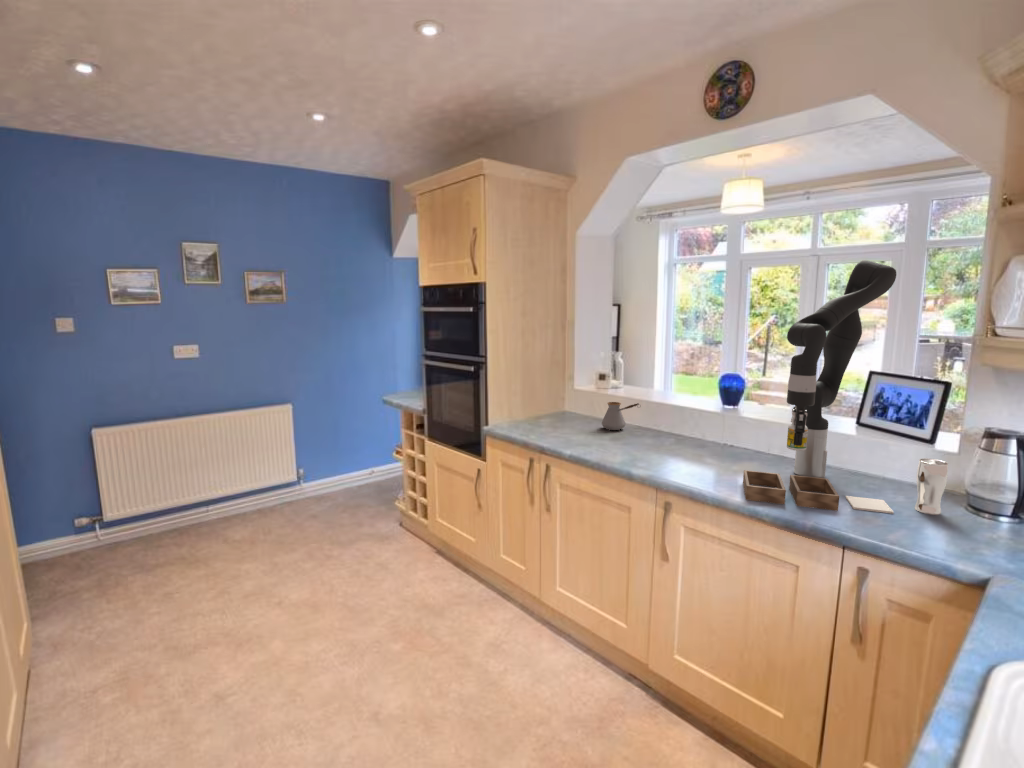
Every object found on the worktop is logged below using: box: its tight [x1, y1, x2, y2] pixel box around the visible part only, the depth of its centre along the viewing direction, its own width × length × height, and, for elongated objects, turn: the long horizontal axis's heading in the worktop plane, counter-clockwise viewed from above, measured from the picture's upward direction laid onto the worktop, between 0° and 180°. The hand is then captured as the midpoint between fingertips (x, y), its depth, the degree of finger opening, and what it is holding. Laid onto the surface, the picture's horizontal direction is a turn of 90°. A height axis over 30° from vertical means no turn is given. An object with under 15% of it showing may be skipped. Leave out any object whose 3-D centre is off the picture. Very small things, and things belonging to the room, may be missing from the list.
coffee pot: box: [601, 401, 641, 431], centre depth 251 cm, size 21×12×15 cm, turn 36°
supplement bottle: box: [786, 417, 808, 452], centre depth 164 cm, size 5×5×10 cm
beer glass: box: [914, 457, 949, 516], centre depth 154 cm, size 7×7×15 cm
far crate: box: [742, 469, 787, 505], centre depth 169 cm, size 11×17×4 cm, turn 159°
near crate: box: [788, 474, 840, 512], centre depth 164 cm, size 11×17×4 cm, turn 159°
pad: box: [845, 495, 895, 515], centre depth 159 cm, size 10×10×1 cm
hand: (796, 442), depth 164 cm, fingers closed on supplement bottle, 5 cm apart
